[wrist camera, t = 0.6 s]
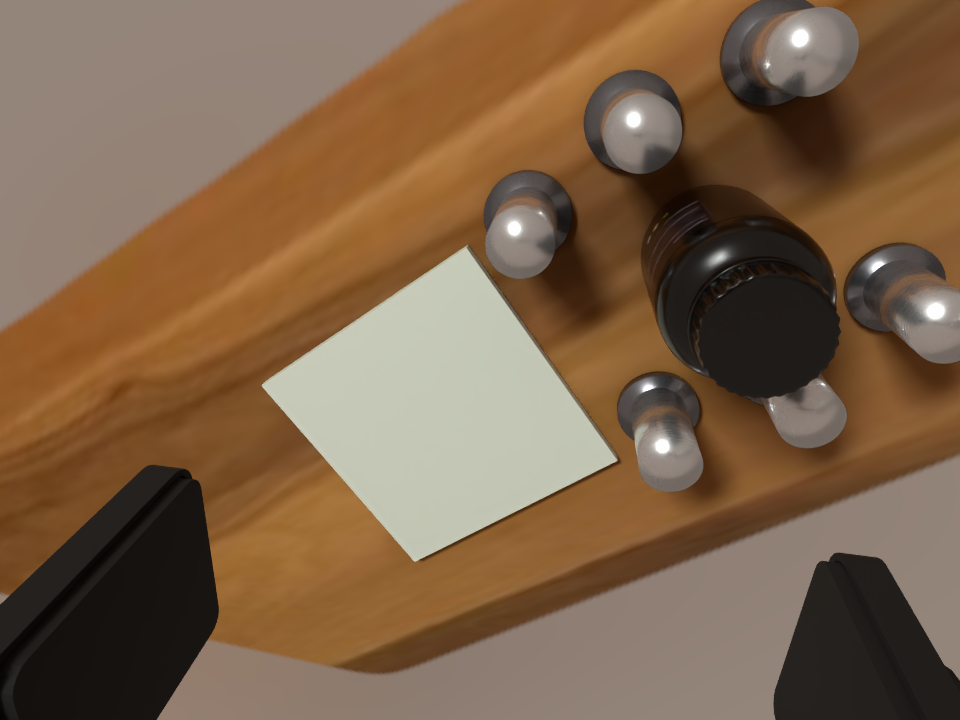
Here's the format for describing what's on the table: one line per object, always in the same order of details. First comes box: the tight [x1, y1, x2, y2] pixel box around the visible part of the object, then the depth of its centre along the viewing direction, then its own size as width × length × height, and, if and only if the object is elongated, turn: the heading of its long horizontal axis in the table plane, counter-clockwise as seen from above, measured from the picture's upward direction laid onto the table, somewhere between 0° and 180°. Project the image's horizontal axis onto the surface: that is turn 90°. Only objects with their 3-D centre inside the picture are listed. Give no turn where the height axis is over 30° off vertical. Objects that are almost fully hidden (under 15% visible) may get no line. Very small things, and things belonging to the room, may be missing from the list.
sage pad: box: [262, 245, 618, 562], centre depth 40 cm, size 15×15×1 cm
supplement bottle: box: [641, 185, 841, 399], centre depth 29 cm, size 7×7×12 cm
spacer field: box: [484, 0, 960, 492], centre depth 32 cm, size 17×19×6 cm
